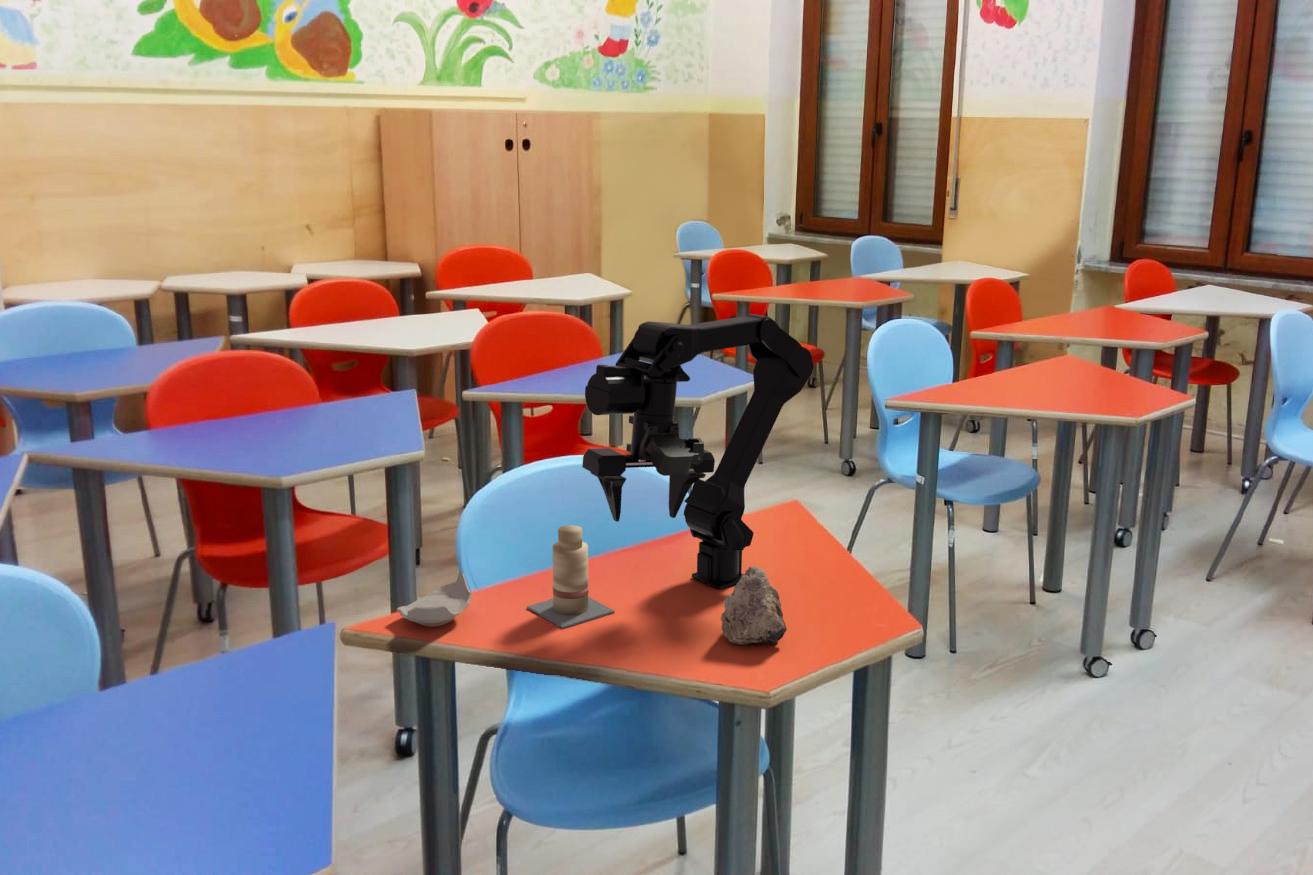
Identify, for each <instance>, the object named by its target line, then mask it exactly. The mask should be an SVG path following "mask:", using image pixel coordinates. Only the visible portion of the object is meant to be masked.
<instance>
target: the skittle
mask: <svg viewBox="0 0 1313 875" xmlns="http://www.w3.org/2000/svg"><path fill="white" fill-rule="evenodd" d="M557 537H558V538H557V542H555V543H554V544H553V545H552V599H553V609H554V611H555V612H556V613H558V614H561V615H579V614H582V613H585V612H586V611H587V610H588V597H589V593H590V592H589V545H588V543H587V542H586V541H585V542H584V541H583V528H582V527H581V526H578V525H572V524H571V525H570V524H569V525H562V526H560V527H559V528H558V529H557Z"/></svg>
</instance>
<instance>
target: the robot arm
mask: <svg viewBox="0 0 1313 875" xmlns="http://www.w3.org/2000/svg"><path fill="white" fill-rule="evenodd" d="M634 333H635V334H634V336H633V338H632V339H631V341H629V343H628V345H627V347H626V348H625V349H624V350H623V352H622V353H621V355H620V356H619V358H618V359H617V361H616V362H615V365H608V364H597V365H596V368H595V369H596V370H595V373H594V374H592V375H591V376H590V378H589V379H588V382H587V385H586V386H585V387H584V389H585V390H584V398H585V404H586V405H587V408H588V410H589V411H590V413H591V414H593V415H595V416H607V415H608V416H611V415H628V423H629V424H631V425H632V431H631V440H630V441H631V442H630V443H626V447H625V448H626V449H625V451H626V452H628V453H629V454H623V453H621V452H618V451H616V450H614V449H612V448H610V447H605V448H604V447H603V448H599V447H598V448H587V450H586V452H585V453H584V455H583V457H582V464H581V466H582V469H585V470H586V471H589V472H590V474H592V475H593V476H594V477H597V480H598V481H599V483H600V485H601V488H602V490H603V493H604V496H605V499H606V501H607V504H608V507H609V510H610V513H611V516H612V519H613V521H615V522H620V519H621V512H622V495H623V494H622V492H623V487H624V485H625V483H626V480H627V477H626V476H623V474H624V473H625V472H626V469H629V468H630V469H634V468H636V469H637V468H655V469H656V470H655V471H656V472H657V473H658V474H660V475H661V476H663V477H664V476H665V477H667V476H669V478H668V479H669V482H668V484H669V485H668V514H669V517H670V518H672V519H675V518H676V517H677V515H678V513H679V511H680V509H681V506H682V504H683V502H684V503H686V504H685V506H684V510H683V517H684V519H685V520H684V521H685V523H686V525H687V527H689V528H688V529H689V531H690V534H691V536H692V538H697V539H699V540H701V541H699V542H698V552H697V555H696V556H697V557H696V572H693V573H691V578H693V579H695V580H696V581H699V582H701V583H704V584H706V585H708V586H711V587H712V588H714V589H718V590H721V589H725V588H727V587H731V586H733V585H734V586H735V585H736V584H737V583H738V582H739V580H740V579H741V577H742V575H744V574H745V573H742V567H743V566H742V565H743V563H742V562H743V551H744V550H745V548H746V547H750V546H751V544H752V541H753V537H754V531H753V530H752V529H751V528H750V527H749V525H747V524H746V523H745V522H744V521H743V520H742V519H743V518H742V517H743V514H744V512H745V508H746V506H745V505H746V504H745V491H744V490H745V487H746V484H747V482H748V480H749V478H750V476H751V473H752V472H753V469H754V468H755V465H756V463H757V461H758V459H759V457H760V455H761V453H762V451H763V448H764V446H765V444H766V442H767V441H768V438H769V436H770V434H771V432H772V429H773V427H774V425H775V423H776V421H777V420H778V417H779V415H780V413H781V411H782V409H783V406H784V405H785V404H786V403H787V402H789V401H790V400H791V399H793V398H794V397H795V396H797V395H798V394H799V393H801V391H802V389H803V388H804V386H805V385H806V383H807V382H808V380H809V378H811V375H812V374H813V371H814V367H815V364H814V361H813V356H812V354H811V351H810V350H809V349H808V348H807V347H805V346H802V344H801V343H800V342H799V341H797V339H795V338H794V337H793V336H791V335H790V334H789V333H787V332H786V331H785V330H784V329H782V328H781V327H780V326H779V324H778V323H777V322H776V321H775V320H774V319H773V318H771V317H770V316H766V315H761V314H760V315H759V314H753V313H748V314H746V315H743V316H737V317H730V318H724V319H718V320H712V321H711V320H710V321H706V322H705V321H703V322H699V323H693V324H692V323H691V324H681V323H671V322H663V321H651V320H650V321H645V322H643V323H642V322H641V324H639V325H638V328H637V330H636V331H635V332H634ZM743 346H746V347H747V351H748V354H749V355H750V356H751V357H752V358H753V359H754V360H755V365H754V369H753V371H752V374H753V389H754V390H753V392H752V394H751V397H750V399H749V401H748V402H747V406H746V408H745V410H744V411H743V413H742V415H741V417H740V419H739V421H738V423H737V426H736V428H735V430H734V432H733V435H732V436H731V438H730V440H729V443H728V445H727V446H726V449H725V450H724V453H723V455H722V457H721V459H720V461H719V463H718V466H717V468H716V470H715V463H716V460H715V457H714V455H713V453H712V452H711V451H708V450H706V449H705V443H704V441H703V440H702V439H701V437H695V438H691V437H690V438H688V439H687V438H681V437H680V434H679V432H680V431H679V429H680V427H679V423H678V422H676V421H675V411H676V410H675V408H676V399H677V389H678V382H681V383H682V382H685V383H686V382H689V381H690V380H691V377H690V376H689V374H687V372H685V370H684V369H683V368H682V365H684V364H686V363H689V362H693V360H694V359H695V358H696V357H697V356H698V355H701V354H703V353H708V352H714V351H719V350H726V349H731V348H736V347H737V348H738V347H743ZM631 414H633V415H631ZM714 471H715V472H714ZM706 473H713V475H711V476H709V478H707V479H706V480H703V479H704V478H705V477H706V476H707V474H706ZM690 489H691V490H690ZM689 491H690V493H689V494H688V492H689ZM687 494H688V496H687ZM686 496H687V497H686ZM685 498H686V499H685Z"/></svg>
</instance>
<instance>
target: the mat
mask: <svg viewBox="0 0 1313 875" xmlns="http://www.w3.org/2000/svg"><path fill="white" fill-rule="evenodd" d="M526 608H527V609H528V610H529V611H531V612H533V613H535V614H536V615H538V616H540V617H542V618H543V619H545V620H547V621H548V622H550V623H552V624H554V625H555V626H557V627H558V628H560V629H561V630H563V629H566V628H570V627H573V626H575V625H579V624H582V623H585V622H588V621H592V620H595V619H598V618H601V617H605V616H607V615H610V614H614V613H615V610H614V609H612V608H611V607H609V606H606V605H605V604H602V603H601V602H599V601H597V600H595V599H593V598H592V597H590V596H588V610H587V611H586V612H585V613H582V614H579V615H561V614H558V613H556V612H555V611H554V609H553V598H550V599H546V600H544V601H543V600H542V601H540V602H538V603H537V602H536V603H533V604H530V605H527V606H526Z"/></svg>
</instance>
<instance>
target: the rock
mask: <svg viewBox="0 0 1313 875" xmlns="http://www.w3.org/2000/svg"><path fill="white" fill-rule="evenodd" d="M743 574H744V575H742V577H741V579H740V580H739V582H738V583H737V584H735V585H734V588H733V591H732V593H730V594H728V595H727V596H726V597H725V598H724V601H723V603H724V605H723V608H724V612H722V613H721V616H720V620H721V624H722V625H721V631H722V634H723V636H724V637H725V638H726V639H728V641H729V643H732V644H734V645H743V646H747V645H750V644H753V643H755V644H757V643H760V644H764V643H765V644H768V645H772V646H773V645H775V644H777V643H778V642H779V641H780V640H782V638H784V635H785V633H786V631H787V630H788V629H787V625H786V623H785V620H784V614H783V610H782V603H781V601H780V595H779V591H778V590H777V588H775V587H773V586H772V585H771V583H770V581H769V580H768V579H769V578H768V577H767V574H766V571H765V570H763V569H762V568H760V567H758V566H756V565H752V566H751V565H750V566H749V567H748V568H747V569H746V570H745V573H743Z"/></svg>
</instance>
